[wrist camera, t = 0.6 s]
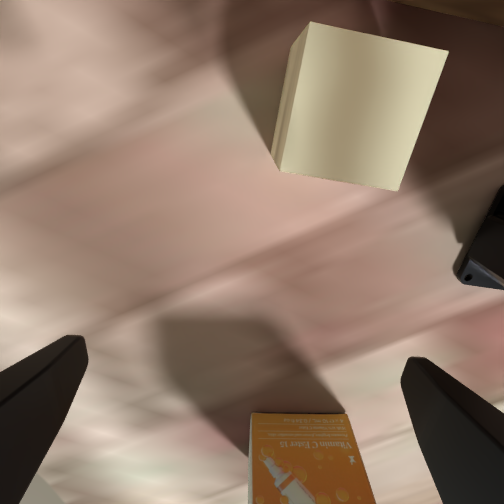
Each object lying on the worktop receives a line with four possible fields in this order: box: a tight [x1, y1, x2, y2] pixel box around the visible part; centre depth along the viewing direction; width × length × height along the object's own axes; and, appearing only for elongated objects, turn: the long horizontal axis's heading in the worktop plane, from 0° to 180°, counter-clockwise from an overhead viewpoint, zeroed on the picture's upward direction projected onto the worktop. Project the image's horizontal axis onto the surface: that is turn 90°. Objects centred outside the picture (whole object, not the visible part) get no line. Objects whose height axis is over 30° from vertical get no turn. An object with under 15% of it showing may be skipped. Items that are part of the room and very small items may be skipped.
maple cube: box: [271, 22, 449, 191], centre depth 14 cm, size 5×5×5 cm
